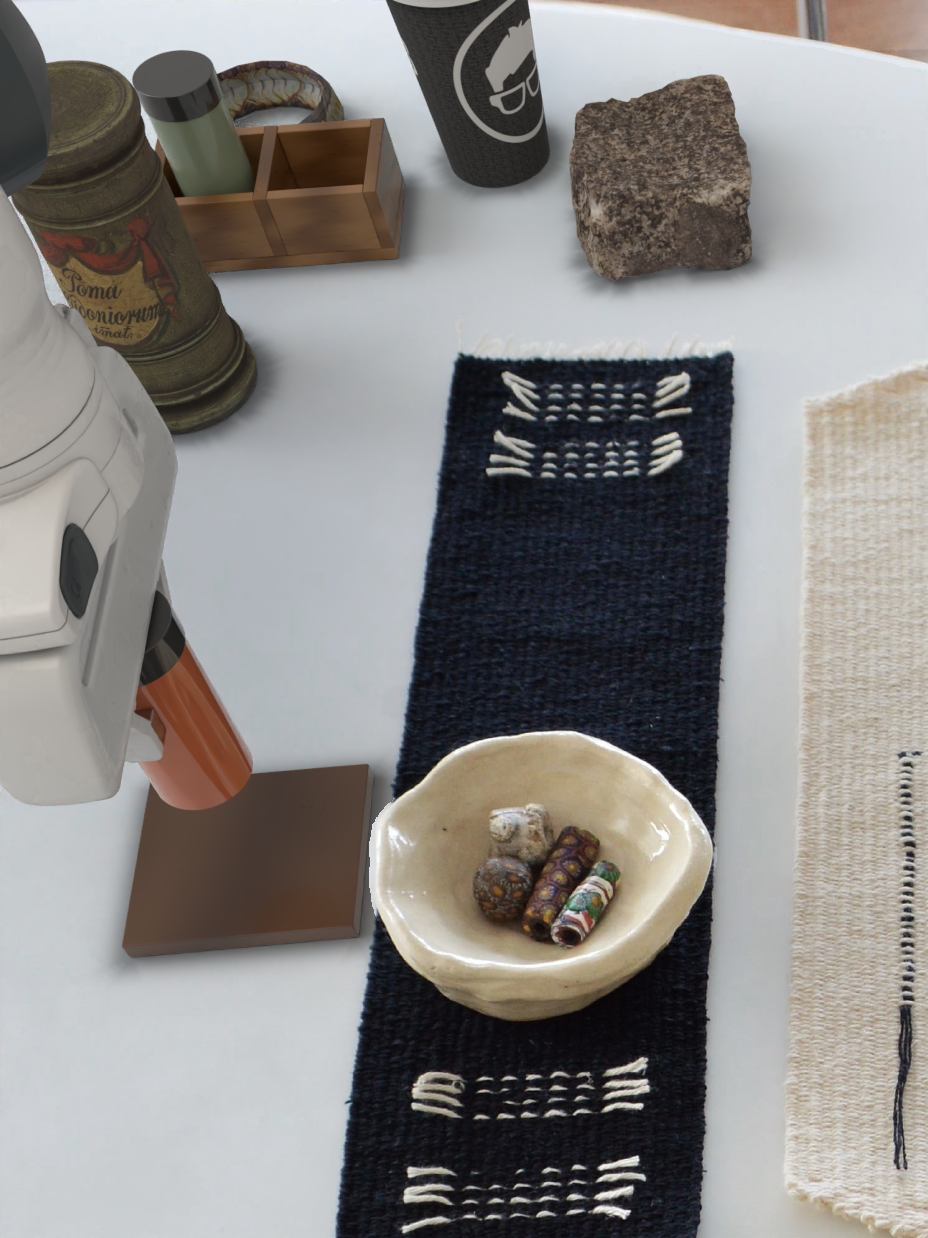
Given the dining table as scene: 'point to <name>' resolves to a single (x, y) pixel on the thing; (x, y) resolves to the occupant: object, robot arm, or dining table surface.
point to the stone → (662, 181)
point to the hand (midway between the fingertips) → (156, 698)
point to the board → (253, 865)
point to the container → (132, 251)
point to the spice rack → (303, 199)
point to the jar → (194, 123)
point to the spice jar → (188, 721)
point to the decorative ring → (279, 90)
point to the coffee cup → (479, 84)
